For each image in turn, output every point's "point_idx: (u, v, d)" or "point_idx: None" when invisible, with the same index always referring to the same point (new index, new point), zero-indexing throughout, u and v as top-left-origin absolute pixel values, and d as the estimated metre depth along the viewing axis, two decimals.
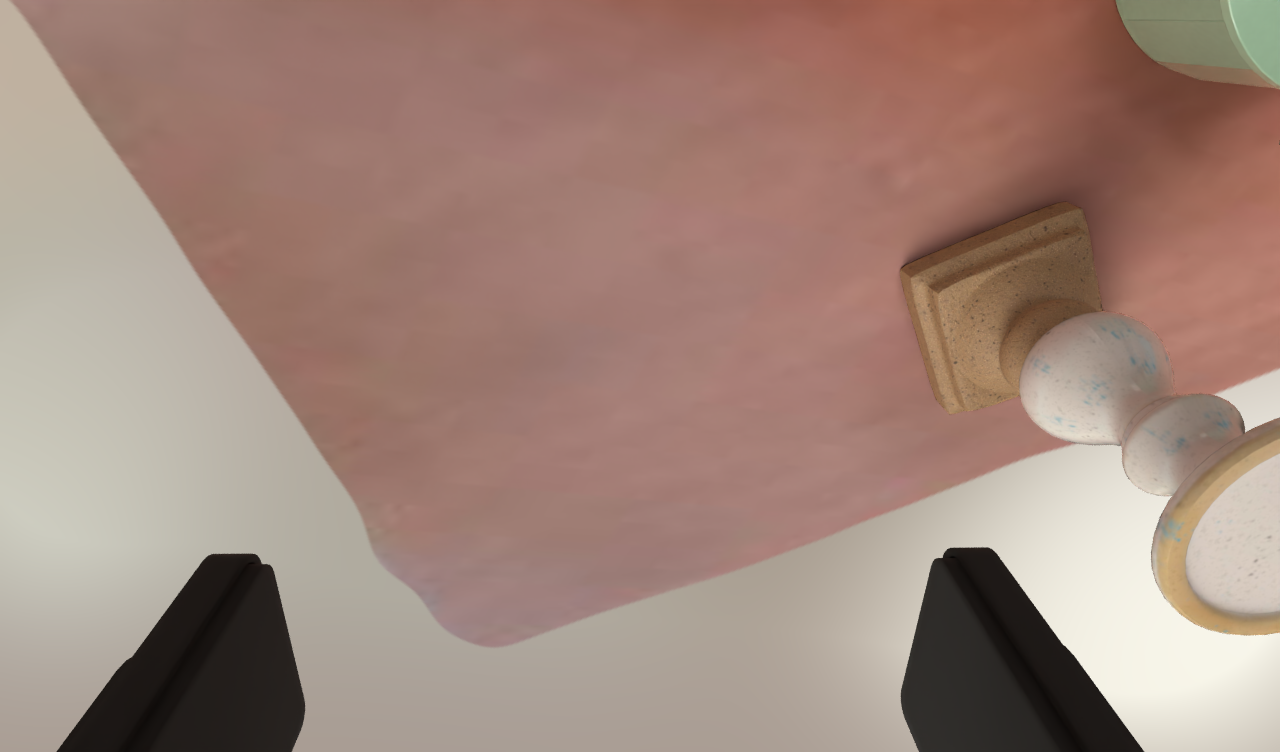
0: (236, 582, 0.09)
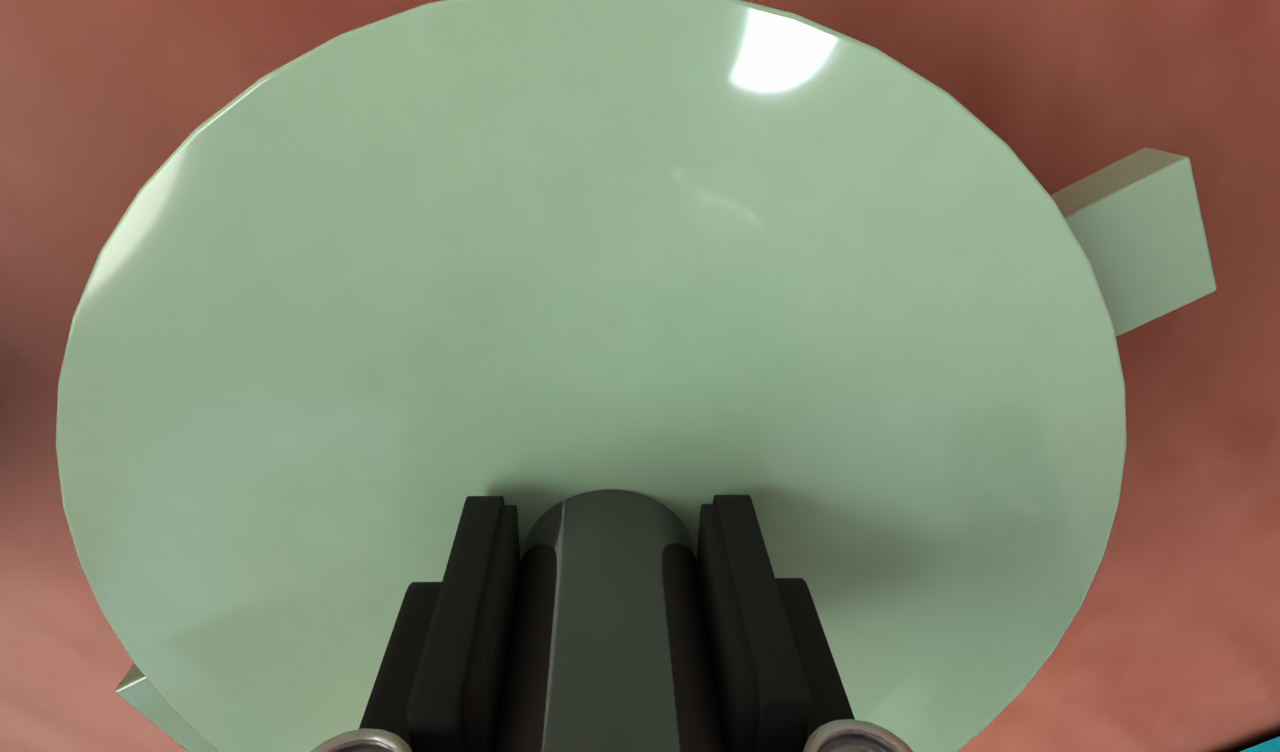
0: (500, 518, 0.11)
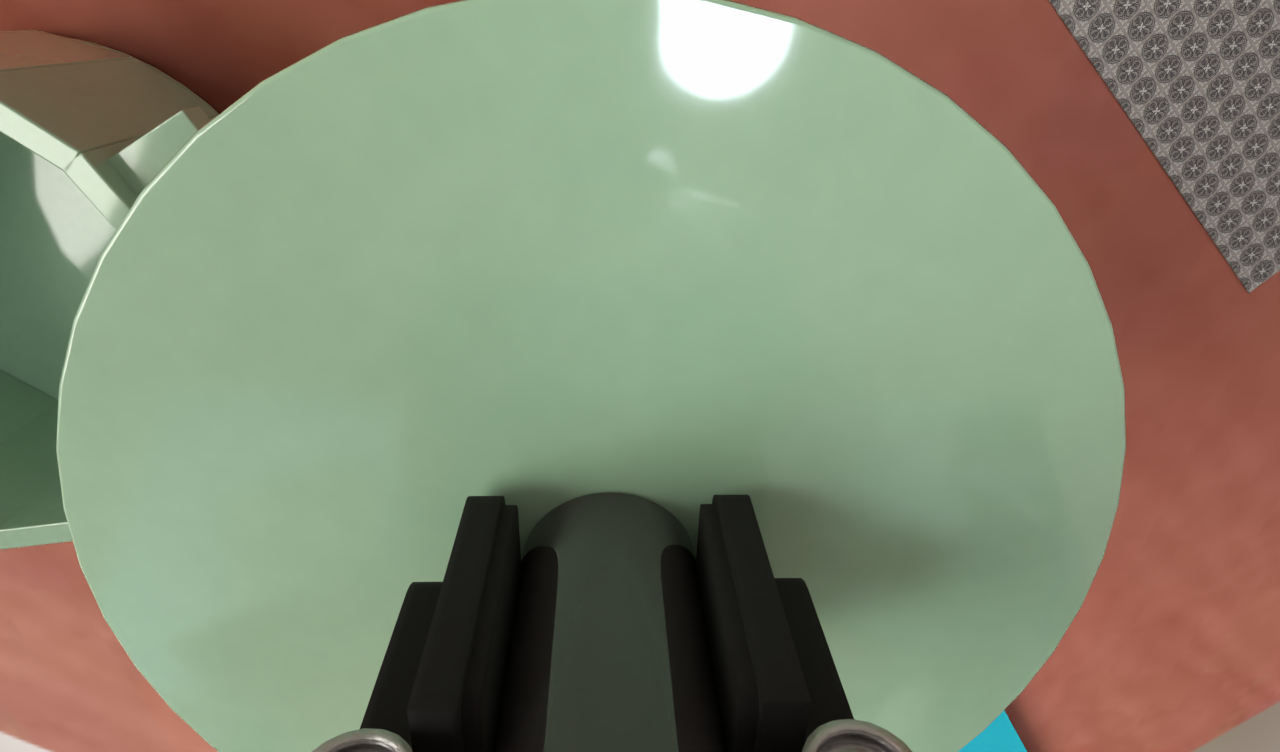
0: (500, 518, 0.11)
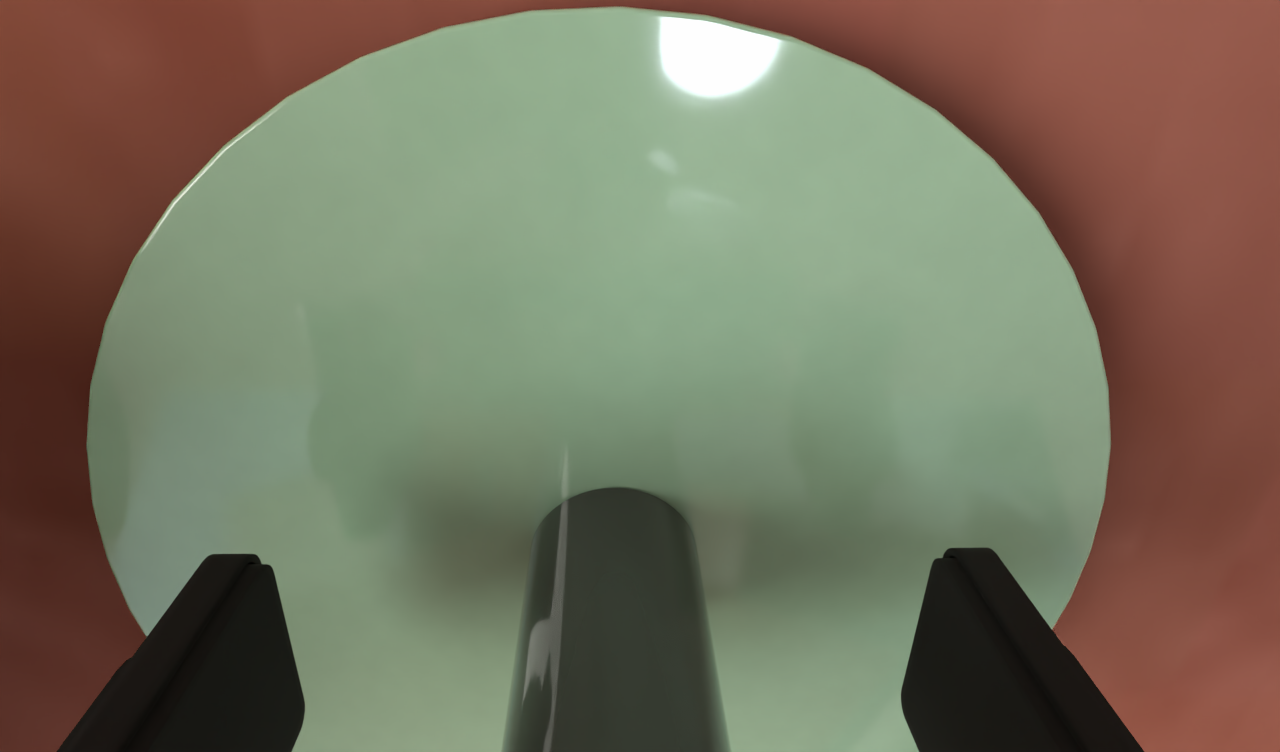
0: (236, 582, 0.09)
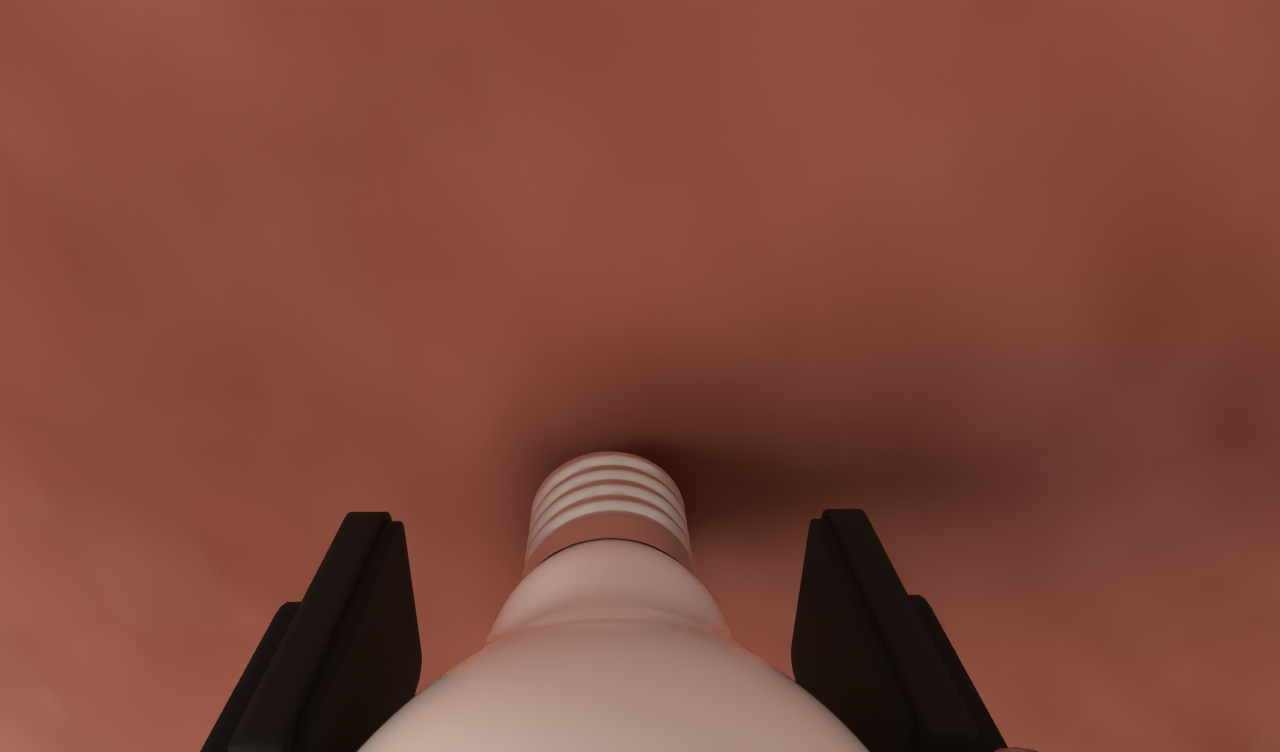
0: (378, 535, 0.10)
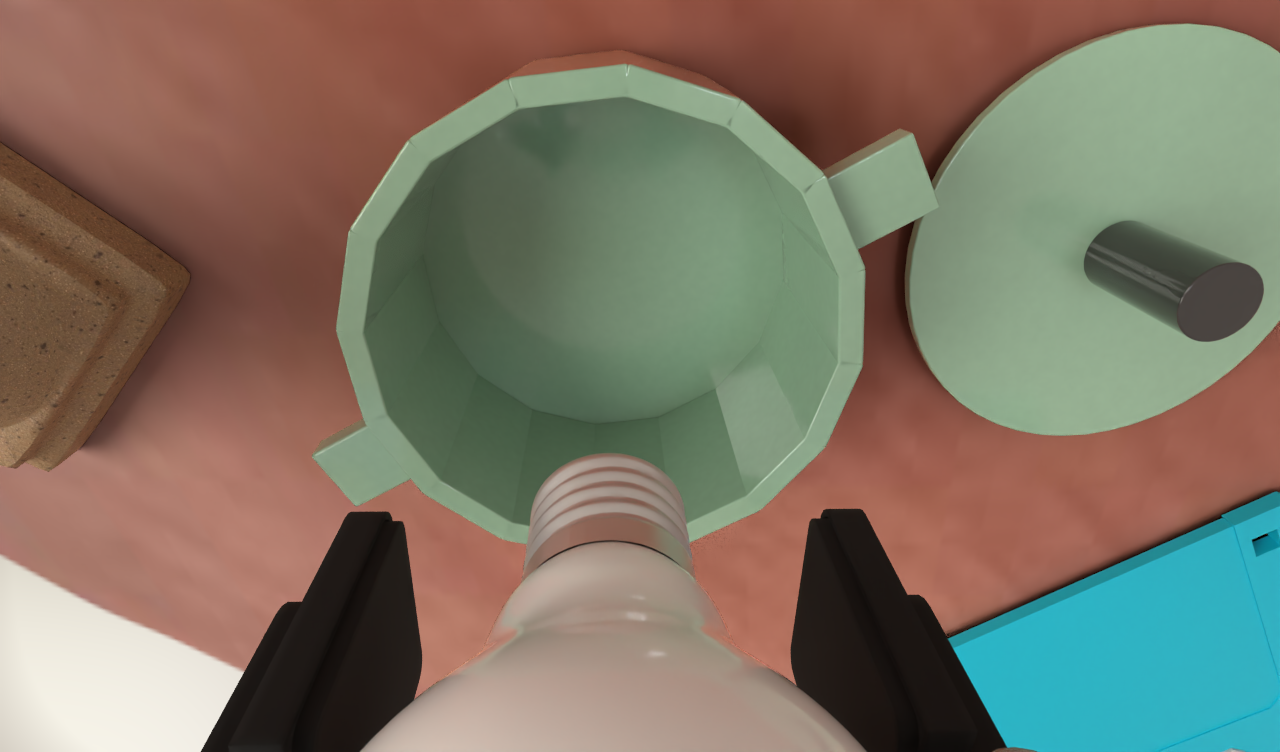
0: (379, 535, 0.10)
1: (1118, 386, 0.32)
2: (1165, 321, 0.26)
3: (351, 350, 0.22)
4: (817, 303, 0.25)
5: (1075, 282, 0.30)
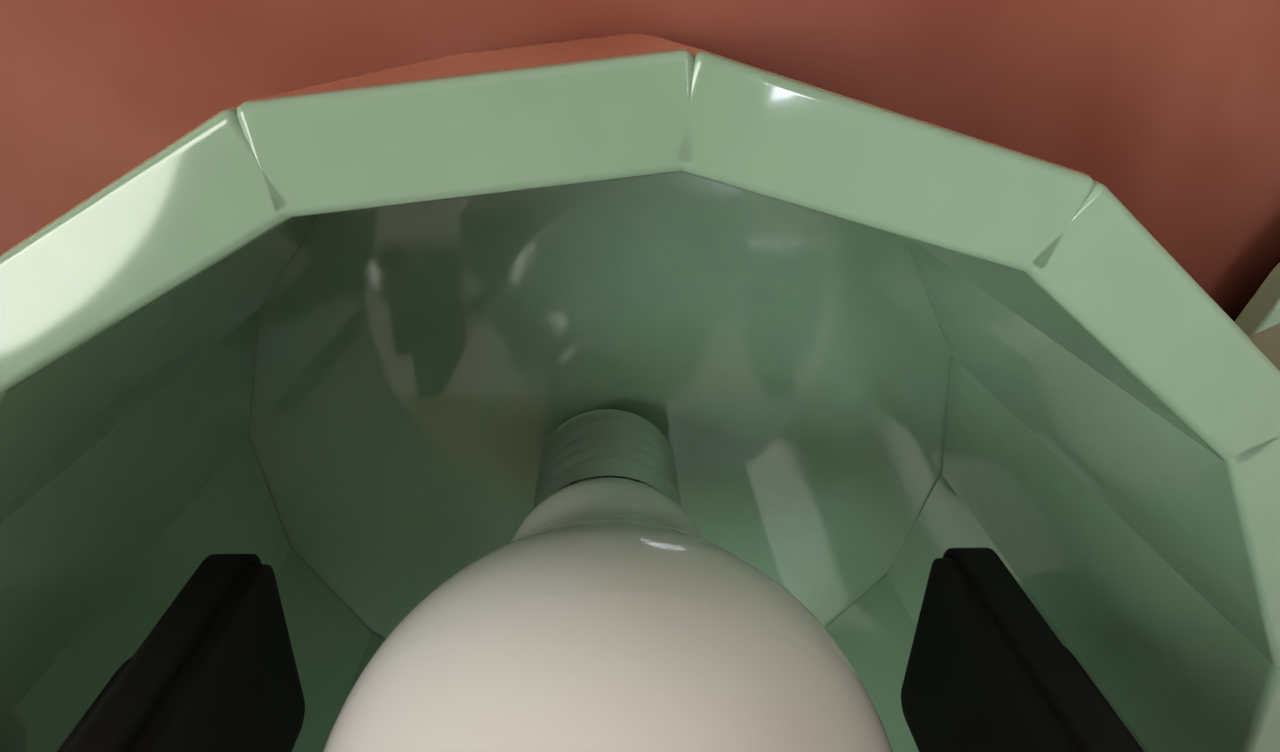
0: (236, 582, 0.09)
1: None
2: None
3: None
4: (1102, 621, 0.11)
5: None
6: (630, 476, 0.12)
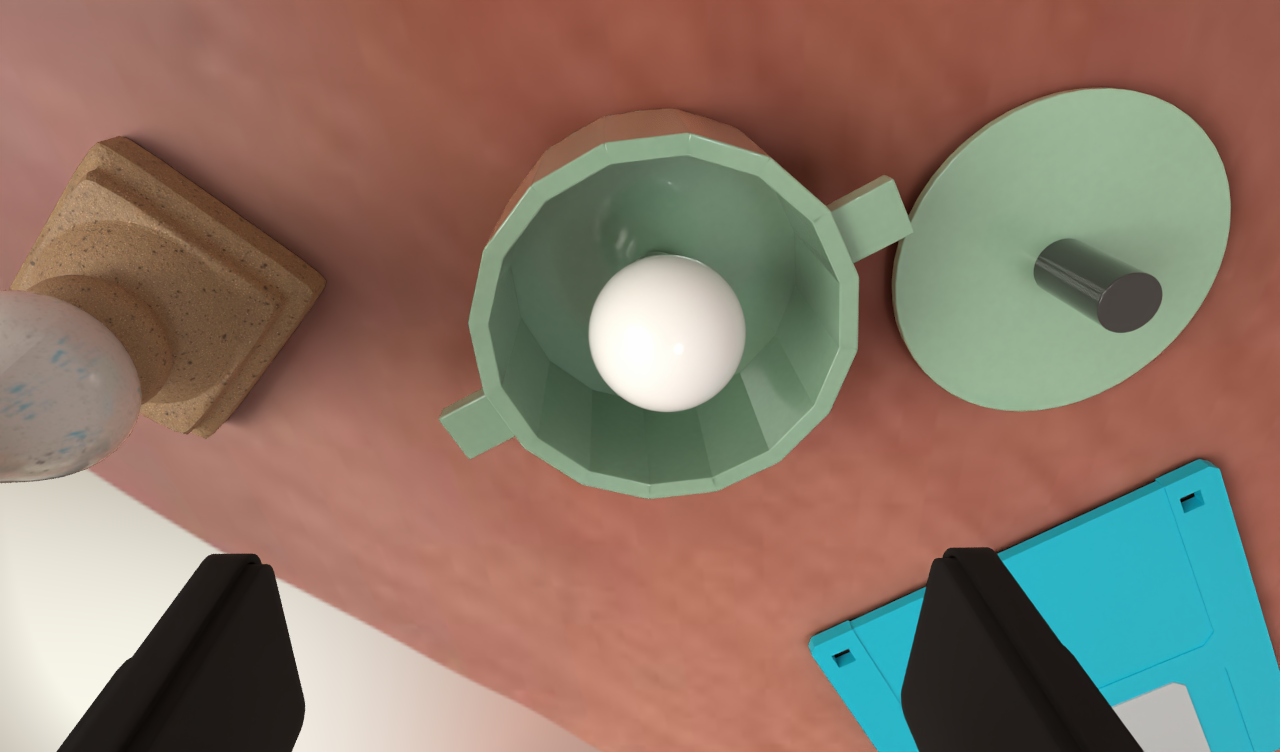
0: (236, 582, 0.09)
1: (1064, 370, 0.40)
2: (1090, 317, 0.34)
3: (478, 338, 0.30)
4: (823, 303, 0.33)
5: (1027, 287, 0.38)
6: None
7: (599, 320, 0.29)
